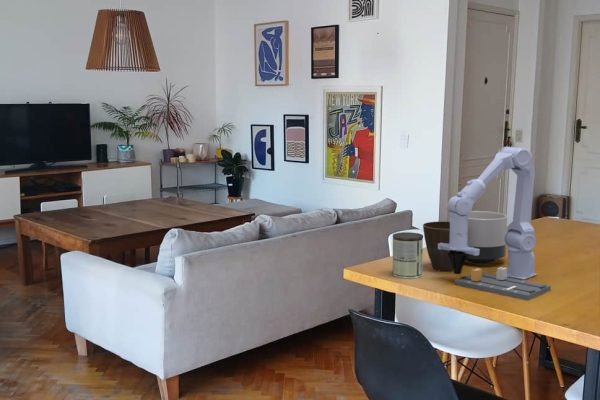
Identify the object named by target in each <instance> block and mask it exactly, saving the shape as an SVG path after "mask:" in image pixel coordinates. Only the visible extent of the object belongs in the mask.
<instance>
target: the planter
mask: <svg viewBox="0 0 600 400" xmlns="http://www.w3.org/2000/svg"><path fill="white" fill-rule="evenodd" d="M507 230H508V215H507V214H504V213H501V212H496V211H495V212H494V211H486V210H483V211H482V210H471V212H470V213H468V238H467V246H469V247H473V248H477V249H480V252H479V255H477V256H475V255H472V254H469V255H468V257H467V258H466V260H465V262H468V263H470V264H475V265H476V264H477V265H487V264H490V263H494V262H495V261H497V260H499V259H502V258H505V257H506V255H507V245H506V243H505V240H504V237H505V234H506V232H507Z"/></svg>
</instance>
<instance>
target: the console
mask: <svg viewBox="0 0 600 400" xmlns="http://www.w3.org/2000/svg"><path fill="white" fill-rule="evenodd" d="M496 278H497V274H491V273H486V272H482V280H480V281H472V280H471V274H469V275H466V276H465V275H464V276H460V277H459V278H458V279H454V285H455V286H458V285H459V286H458V287H463V286H464V287H463V288H468V289H472V290H477V291H483V292H487V293H492V294H496V295H502V296H507V297H511V298H514V299H515V298H516V299H520V300H524V301H530V300H532V299H534V298H536V297H538V296H541V295H543V294H546V293H548V292H550V291H551V287H552V286H551V285H549V284H544V283H538V282H532V281H528V280H522V279H517V278H512V277H507V279H504V280H498V279H496Z"/></svg>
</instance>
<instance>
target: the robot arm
mask: <svg viewBox="0 0 600 400" xmlns="http://www.w3.org/2000/svg"><path fill="white" fill-rule="evenodd" d="M533 157H534V155H533V154H532V152H531V151H530V150H528V149H527V147H526V148H525V147H511V146H504V147H502V148H501V149H500V151H499V152H497V153H496V154H495V156H494V159H493V160H492V161H491V162H490V163H489V164H488V166H487V167H486V168H485V169H484V170H483V172H482V173H481V174H480V175H479V176H478V178H477V179H475V178H474V179H473V178H472V179H471V180H468V181H467V182H466V185H465V186H464V187H463V188H462V189H461V191H458V192H457V193H456V194H457V195H455V196H452V197H451V198H450V199H449V200H448V203H447V204H446V209H447V210H448V212H449V222H450V242H449V244H447V243H439V244H438V249H440V250H441V249H443V250H449V251H450V252H449V253H448V257H449V258H450V260H451V263H452V266H453V270H452V271H453V273H454V275H461V274H462V270H463V267H464V264H465V262H466V261H465V260H466V258H467V257H468V255H469V254H472V255H475V256H477V255H479V252H480V249H477V248H473V247H469V246H467V238H468V213H470V212H471V211H473V205H475V202H477V200H479V199H480V198H481V196H482V195H483V194H484V193H485V192H486V186H487V185H488V184H489V183H490V182H491V181H492V180H494V179H495V178H496V177H497V176H498V175H499V174H500V173H501V172H502V171H504V170H511V171H512V172H513V173H514V174H515V175H516V184H515V193H514V194H515V196H514V203H513V215H512V221H510V223H509V224H507V232H506V234H505V237H504V240H505V243H506V246H507V250H508V251H507V254H508V255H507V277H508V278H513V279H518V280H523V281H526V280H528V279H529V278H532V277H535V276H537V275H538V274H537V273H536V272H535V267H536V266H535V263H536V261H535V260H536V256H535V253H534V252H533V250H534V248H535V247H536V244H537V239H536V236H535V228H534V226H532V224H531V215H532V206H533V205H532V204H533V196H534V185H535V176H536V169H535V166H534V163H533Z"/></svg>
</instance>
